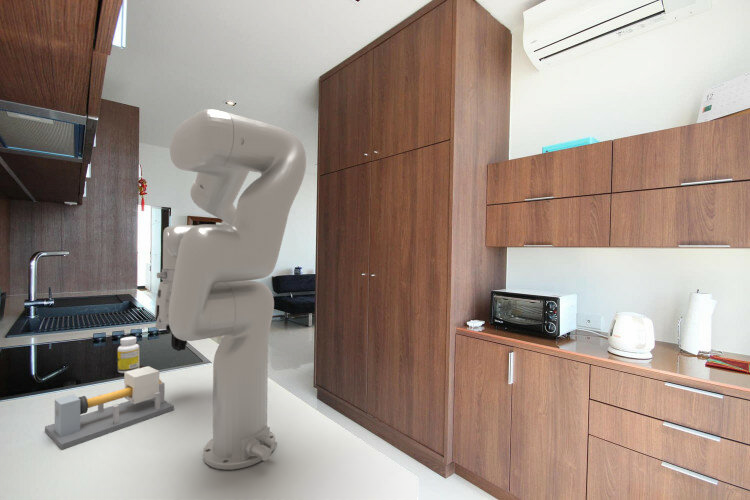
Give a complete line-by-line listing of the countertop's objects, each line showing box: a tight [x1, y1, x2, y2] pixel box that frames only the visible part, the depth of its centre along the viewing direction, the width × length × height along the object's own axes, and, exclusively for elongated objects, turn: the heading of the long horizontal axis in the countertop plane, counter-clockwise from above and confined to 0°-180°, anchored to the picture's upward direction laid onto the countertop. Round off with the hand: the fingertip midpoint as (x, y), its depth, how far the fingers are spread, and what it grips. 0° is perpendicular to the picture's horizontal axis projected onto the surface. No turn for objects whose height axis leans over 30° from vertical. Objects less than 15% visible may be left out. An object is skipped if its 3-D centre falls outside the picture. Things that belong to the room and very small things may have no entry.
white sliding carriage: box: [123, 365, 160, 404], centre depth 82 cm, size 5×6×6 cm
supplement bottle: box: [117, 336, 140, 374], centre depth 107 cm, size 5×5×10 cm
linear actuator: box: [44, 378, 175, 451], centre depth 77 cm, size 20×11×7 cm, turn 145°
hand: (179, 349), depth 89 cm, fingers closed
